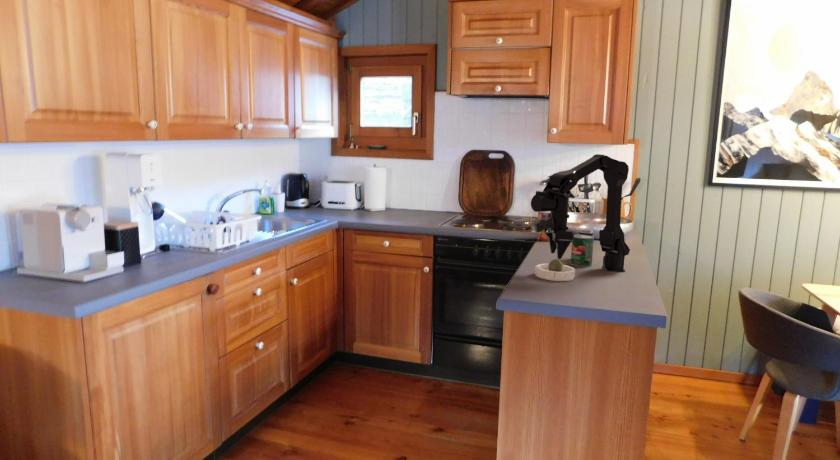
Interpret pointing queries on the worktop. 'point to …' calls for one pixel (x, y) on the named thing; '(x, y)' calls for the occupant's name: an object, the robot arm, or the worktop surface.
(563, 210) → the robot arm
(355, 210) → the worktop surface
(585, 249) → the canned tomato
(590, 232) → the beverage can
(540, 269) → the ceramic dish
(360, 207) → the worktop surface
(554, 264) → the lime
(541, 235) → the smoothie
